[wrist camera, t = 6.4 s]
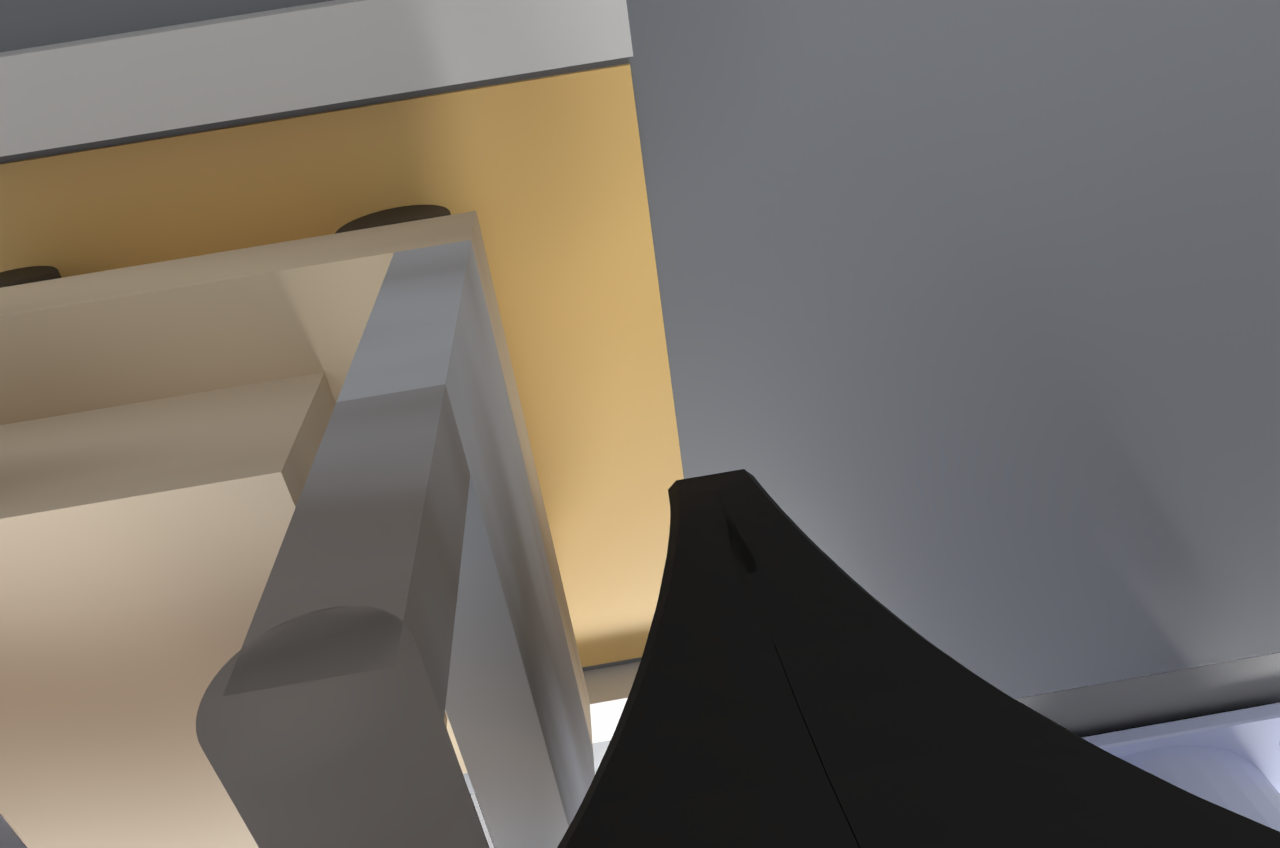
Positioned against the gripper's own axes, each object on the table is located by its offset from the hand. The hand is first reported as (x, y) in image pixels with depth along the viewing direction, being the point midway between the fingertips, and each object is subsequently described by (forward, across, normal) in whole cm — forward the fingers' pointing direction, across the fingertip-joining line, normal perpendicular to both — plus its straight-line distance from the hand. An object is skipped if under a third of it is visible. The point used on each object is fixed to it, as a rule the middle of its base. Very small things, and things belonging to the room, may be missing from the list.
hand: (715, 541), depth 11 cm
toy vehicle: (+3, +6, 0) cm, 6 cm away
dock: (+5, 0, 0) cm, 5 cm away
